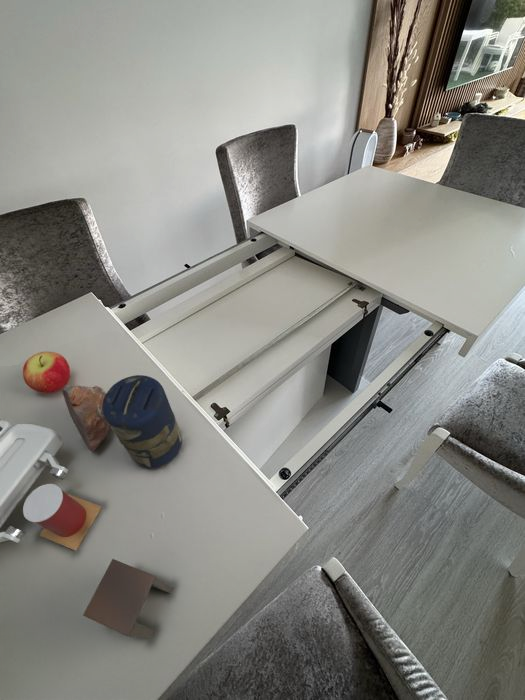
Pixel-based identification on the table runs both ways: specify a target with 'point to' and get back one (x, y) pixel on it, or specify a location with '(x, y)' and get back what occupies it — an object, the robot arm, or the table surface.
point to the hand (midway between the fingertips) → (43, 503)
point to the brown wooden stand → (123, 599)
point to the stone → (87, 413)
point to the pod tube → (54, 510)
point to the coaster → (77, 538)
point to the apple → (46, 372)
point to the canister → (143, 420)
